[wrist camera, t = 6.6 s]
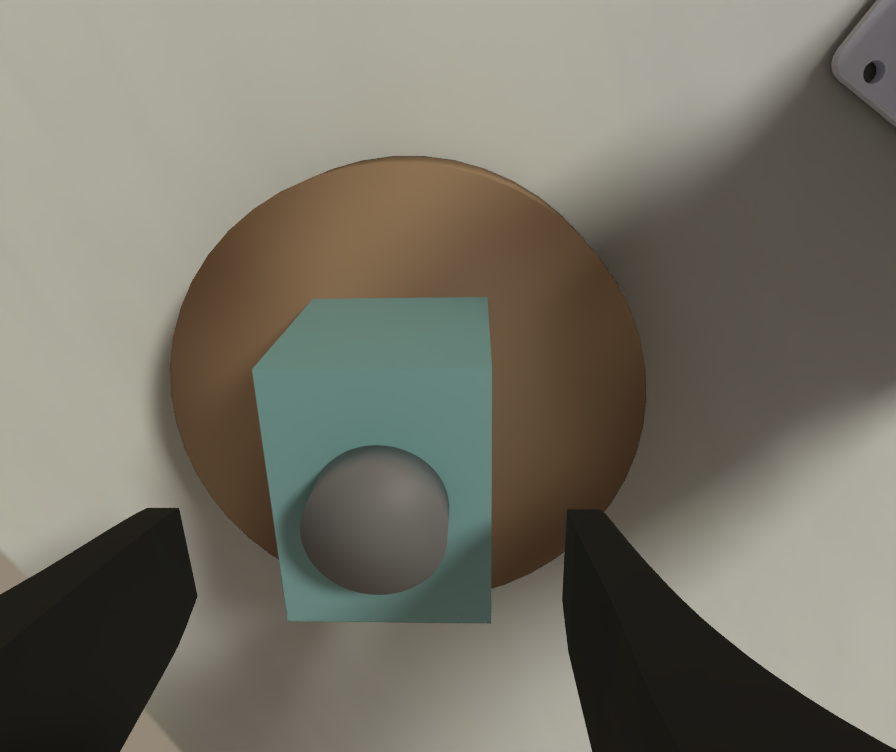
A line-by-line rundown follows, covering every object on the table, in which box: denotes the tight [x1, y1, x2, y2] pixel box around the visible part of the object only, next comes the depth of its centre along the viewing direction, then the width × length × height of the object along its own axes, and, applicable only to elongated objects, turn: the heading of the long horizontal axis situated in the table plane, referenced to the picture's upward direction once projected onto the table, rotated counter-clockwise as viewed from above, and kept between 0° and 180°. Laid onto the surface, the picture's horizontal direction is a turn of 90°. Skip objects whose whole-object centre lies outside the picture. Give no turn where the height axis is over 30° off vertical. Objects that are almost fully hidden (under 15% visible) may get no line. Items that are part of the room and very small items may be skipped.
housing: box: [252, 297, 492, 623], centre depth 15 cm, size 4×6×6 cm
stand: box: [170, 156, 646, 589], centre depth 19 cm, size 13×13×2 cm
